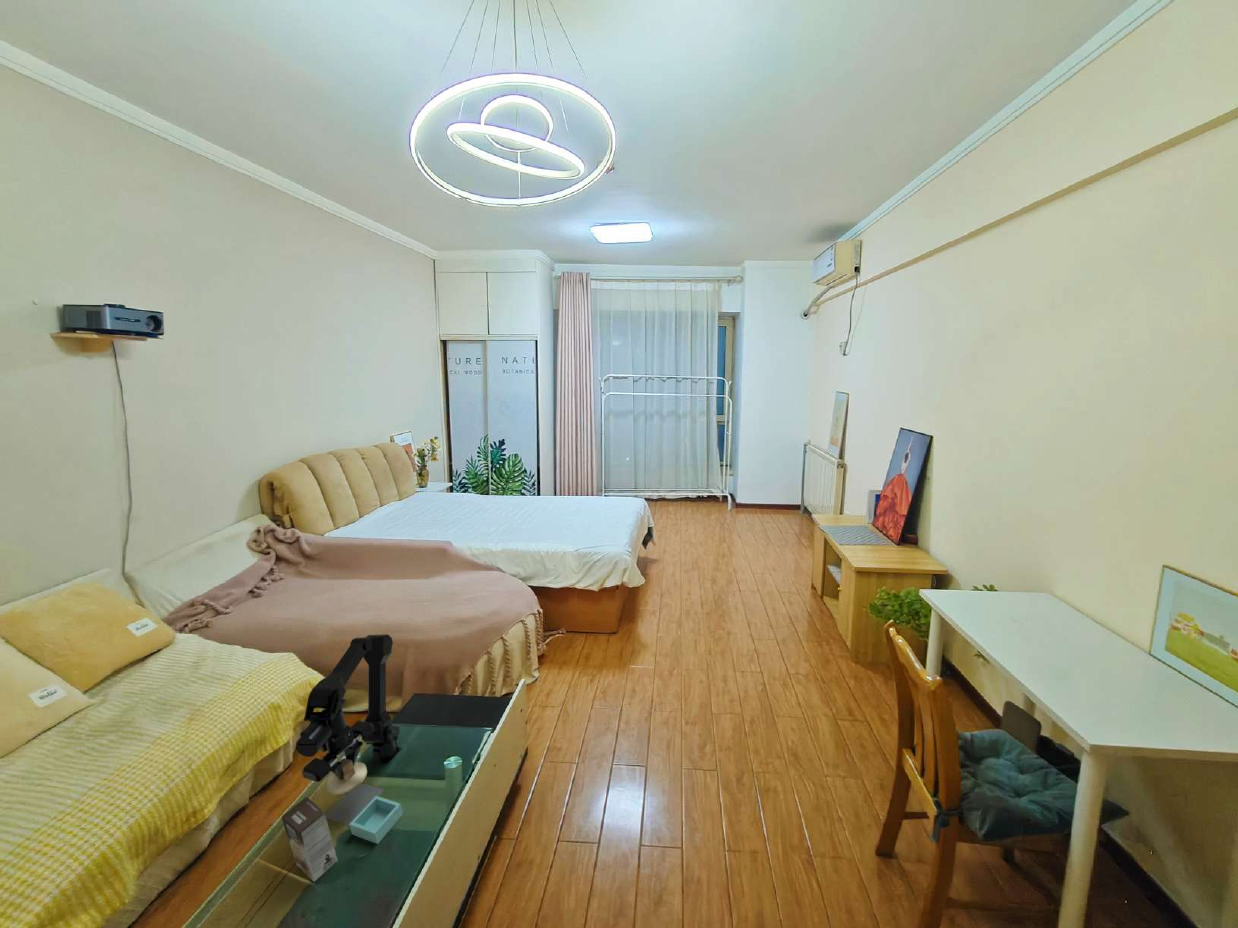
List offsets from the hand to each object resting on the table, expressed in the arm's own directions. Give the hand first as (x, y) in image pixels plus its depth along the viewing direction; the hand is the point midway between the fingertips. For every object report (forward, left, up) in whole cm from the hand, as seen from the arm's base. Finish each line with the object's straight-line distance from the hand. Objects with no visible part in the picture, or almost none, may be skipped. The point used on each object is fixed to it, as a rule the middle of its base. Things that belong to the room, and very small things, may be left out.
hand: (346, 774), depth 144 cm
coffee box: (+16, +5, -11) cm, 20 cm away
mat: (0, 0, -11) cm, 11 cm away
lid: (0, 0, -2) cm, 2 cm away
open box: (+3, +12, -11) cm, 16 cm away
